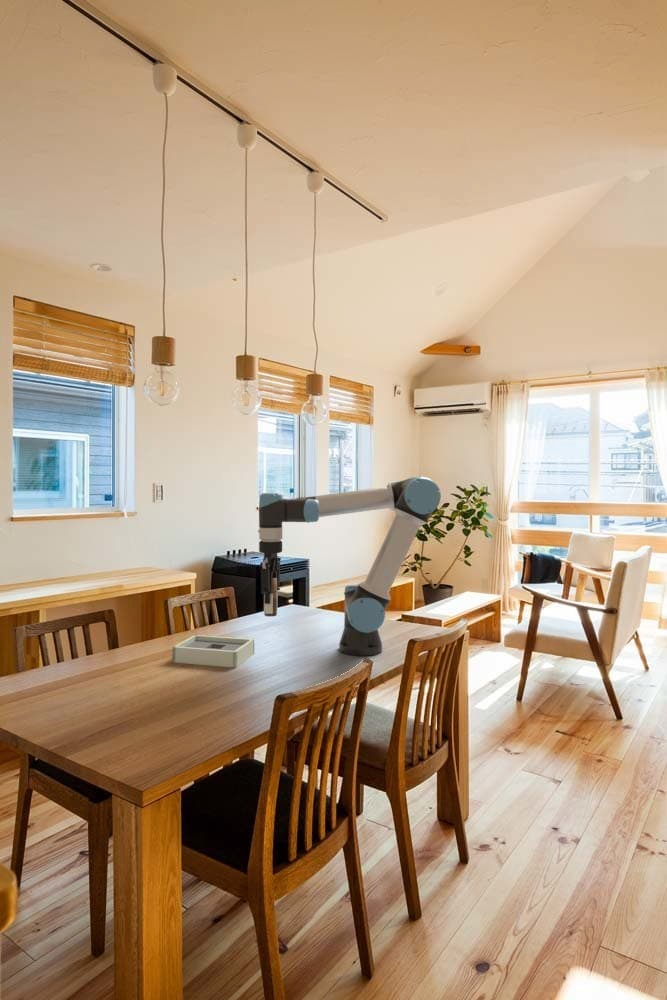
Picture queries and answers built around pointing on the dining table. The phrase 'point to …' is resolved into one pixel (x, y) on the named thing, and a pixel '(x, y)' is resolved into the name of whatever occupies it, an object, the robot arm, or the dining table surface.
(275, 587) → the peg
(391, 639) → the dining table surface
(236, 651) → the box
